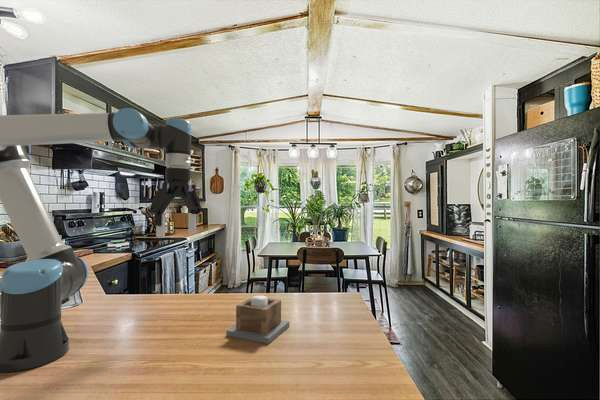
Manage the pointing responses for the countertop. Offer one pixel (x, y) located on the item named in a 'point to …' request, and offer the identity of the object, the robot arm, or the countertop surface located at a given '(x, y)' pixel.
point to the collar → (258, 316)
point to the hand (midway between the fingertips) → (177, 235)
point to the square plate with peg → (270, 336)
